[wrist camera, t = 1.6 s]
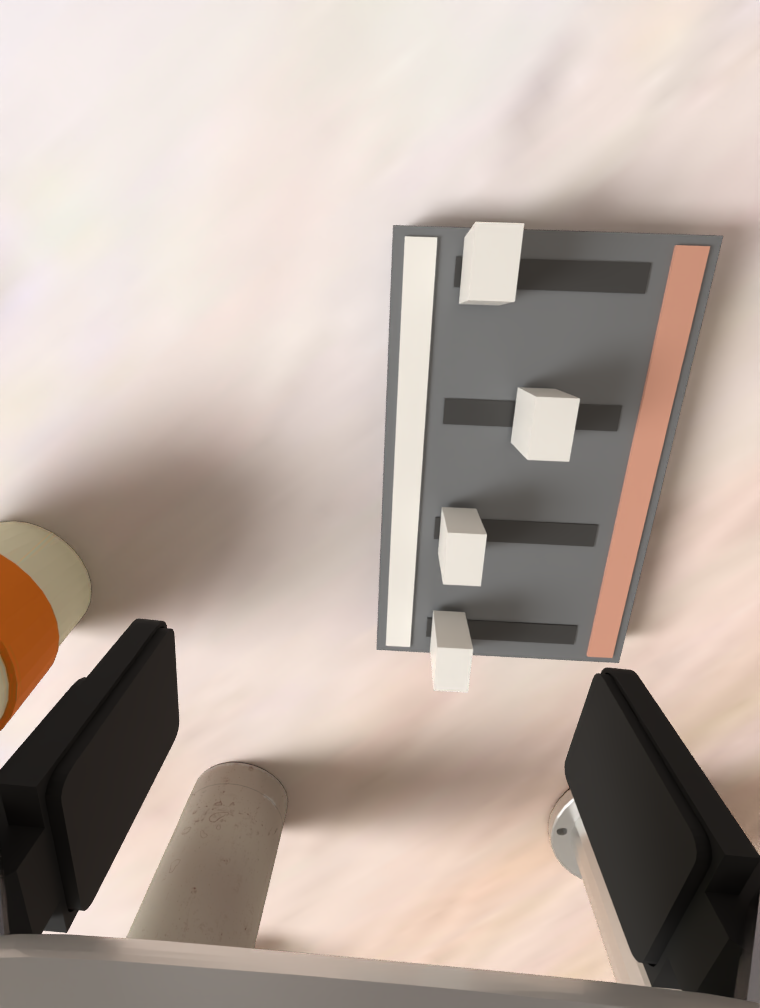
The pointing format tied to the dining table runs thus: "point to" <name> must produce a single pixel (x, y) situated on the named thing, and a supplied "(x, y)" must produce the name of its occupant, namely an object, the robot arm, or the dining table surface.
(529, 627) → the grey slider switch panel
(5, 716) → the reusable coffee cup
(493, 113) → the dining table surface
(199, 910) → the thermos bottle
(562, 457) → the block
